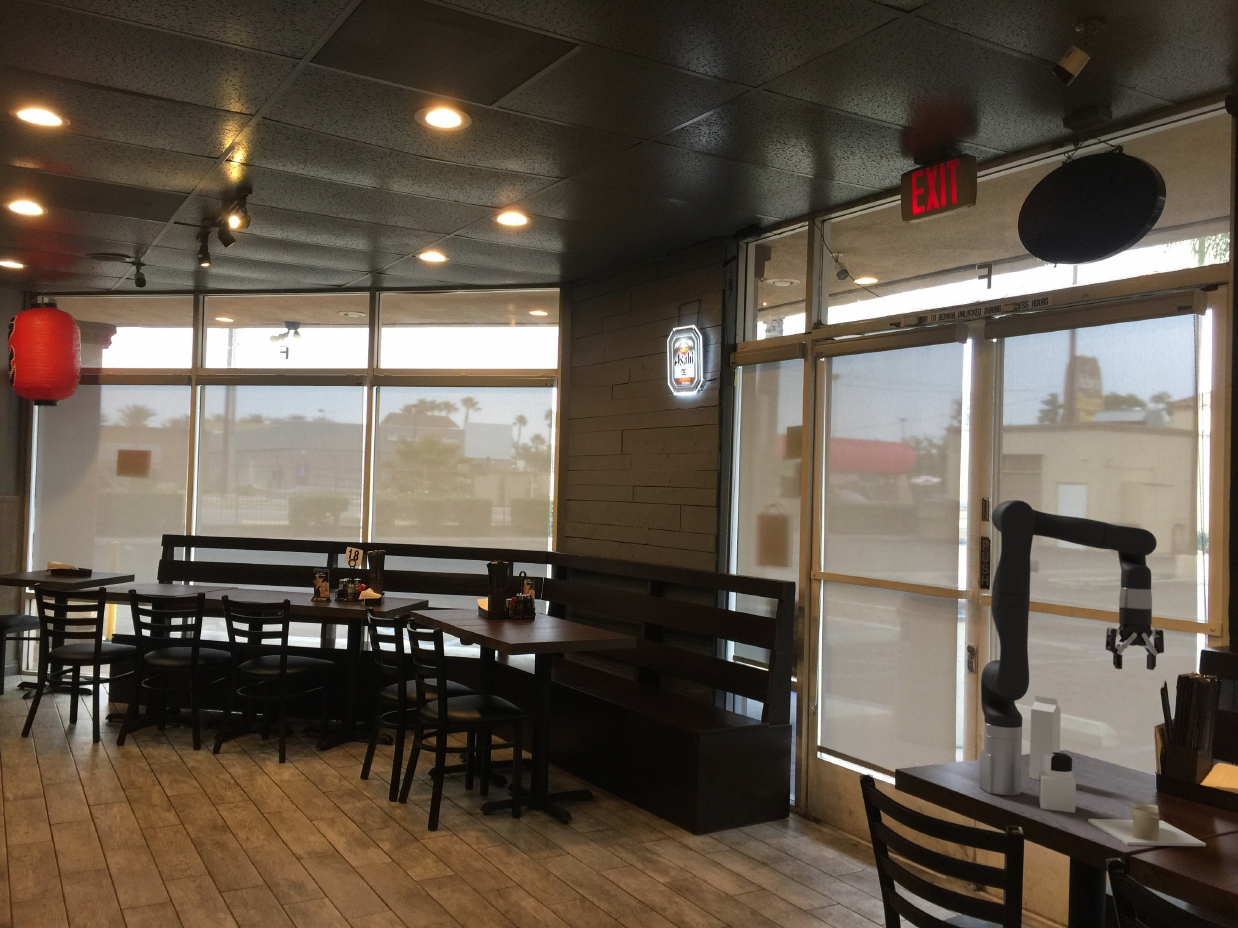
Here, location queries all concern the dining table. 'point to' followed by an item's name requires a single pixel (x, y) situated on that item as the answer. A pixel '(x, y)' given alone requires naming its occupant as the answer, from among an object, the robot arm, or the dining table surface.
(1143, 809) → the block
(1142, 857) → the dining table surface
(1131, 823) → the mat
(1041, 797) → the container
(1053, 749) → the milk
